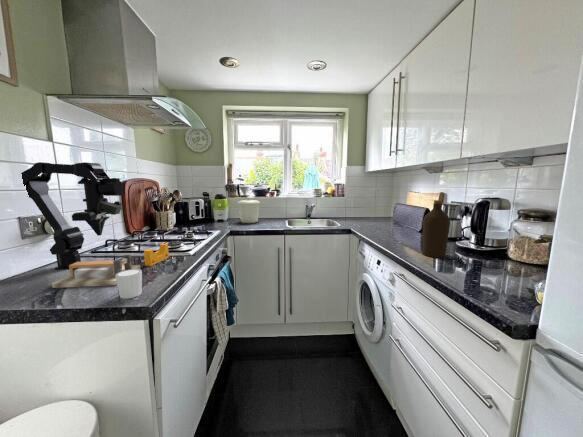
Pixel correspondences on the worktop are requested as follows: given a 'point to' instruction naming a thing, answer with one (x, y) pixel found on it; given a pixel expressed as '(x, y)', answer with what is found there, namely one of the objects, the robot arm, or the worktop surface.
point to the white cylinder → (129, 283)
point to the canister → (248, 210)
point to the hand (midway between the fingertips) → (99, 235)
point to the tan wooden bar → (93, 264)
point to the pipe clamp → (156, 255)
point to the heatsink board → (88, 281)
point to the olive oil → (435, 232)
